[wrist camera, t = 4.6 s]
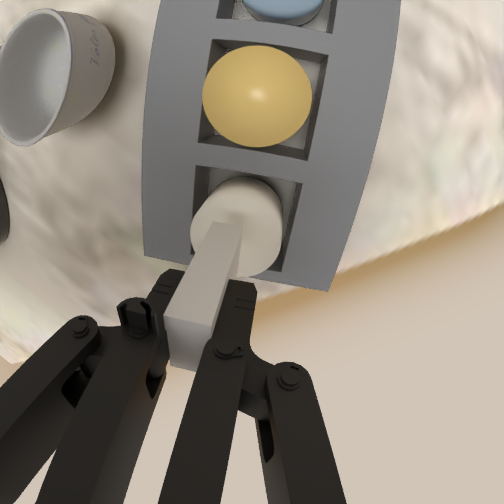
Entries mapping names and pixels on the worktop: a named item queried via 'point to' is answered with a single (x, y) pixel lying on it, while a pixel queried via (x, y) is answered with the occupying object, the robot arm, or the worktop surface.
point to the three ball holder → (275, 156)
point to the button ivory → (244, 221)
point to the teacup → (52, 73)
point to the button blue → (284, 10)
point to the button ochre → (257, 96)
